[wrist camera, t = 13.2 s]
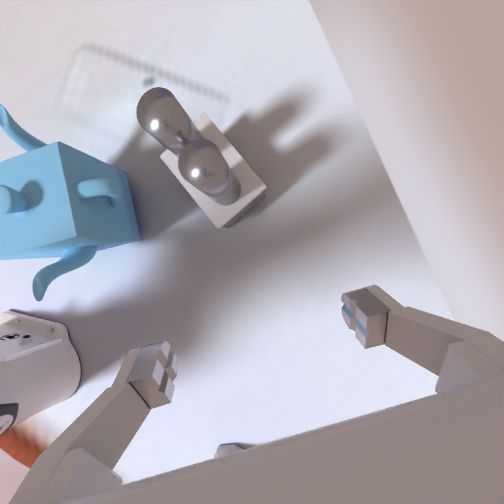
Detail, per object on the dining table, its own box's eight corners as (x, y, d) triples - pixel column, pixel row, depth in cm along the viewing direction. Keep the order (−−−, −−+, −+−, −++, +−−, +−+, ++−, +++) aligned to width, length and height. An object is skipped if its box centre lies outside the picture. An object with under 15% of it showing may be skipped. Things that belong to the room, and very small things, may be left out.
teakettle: (170, 199, 36) (92, 167, 21) (122, 287, 37) (19, 312, 23) (91, 149, 38) (-28, 88, 23) (49, 234, 40) (-86, 226, 25)
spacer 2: (206, 200, 28) (172, 177, 20) (216, 170, 28) (185, 133, 19) (235, 209, 28) (213, 190, 19) (245, 179, 28) (227, 145, 19)
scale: (179, 170, 35) (159, 156, 30) (217, 134, 34) (204, 112, 28) (228, 232, 34) (217, 229, 28) (269, 196, 33) (266, 186, 27)
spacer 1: (177, 163, 29) (131, 126, 20) (187, 133, 29) (144, 82, 20) (205, 171, 28) (169, 138, 20) (214, 141, 28) (183, 93, 19)
